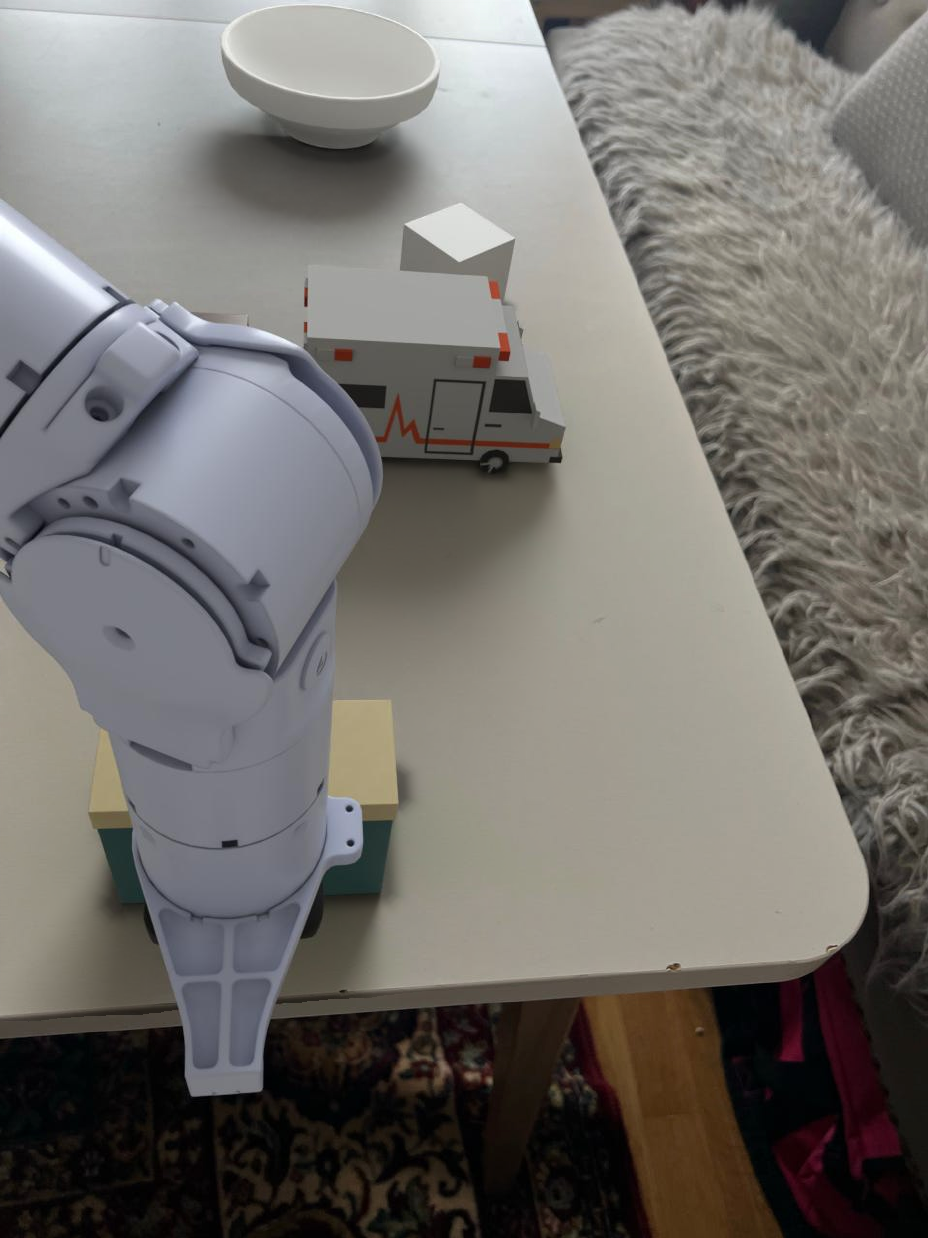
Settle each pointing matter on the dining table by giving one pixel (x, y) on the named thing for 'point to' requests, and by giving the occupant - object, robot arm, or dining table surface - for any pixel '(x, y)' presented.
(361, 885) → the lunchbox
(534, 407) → the toy vehicle
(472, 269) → the white cube
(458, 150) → the dining table surface
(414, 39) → the bowl
